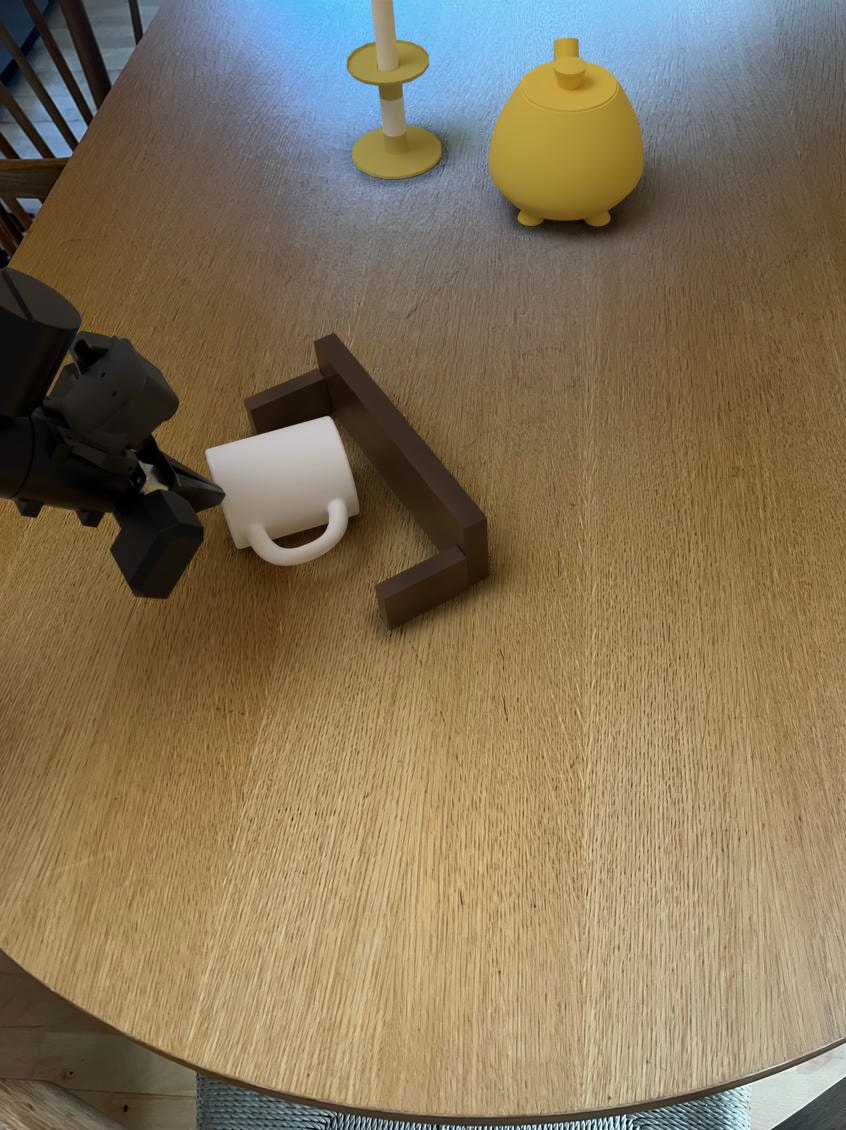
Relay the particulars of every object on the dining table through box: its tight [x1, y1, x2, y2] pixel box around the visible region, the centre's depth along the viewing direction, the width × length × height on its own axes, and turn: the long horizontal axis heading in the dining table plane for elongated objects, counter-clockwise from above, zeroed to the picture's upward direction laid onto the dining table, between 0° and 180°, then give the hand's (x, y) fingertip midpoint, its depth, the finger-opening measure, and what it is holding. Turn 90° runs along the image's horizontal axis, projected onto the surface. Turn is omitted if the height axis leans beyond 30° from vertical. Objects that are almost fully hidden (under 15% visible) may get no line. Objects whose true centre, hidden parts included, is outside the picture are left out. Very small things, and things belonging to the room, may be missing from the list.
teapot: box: [488, 37, 645, 227], centre depth 101 cm, size 20×16×14 cm
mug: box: [205, 415, 360, 567], centre depth 78 cm, size 12×10×8 cm
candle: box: [346, 0, 443, 180], centre depth 100 cm, size 10×10×27 cm
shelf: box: [242, 332, 490, 631], centre depth 80 cm, size 9×24×7 cm, turn 32°
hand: (221, 496), depth 74 cm, fingers closed
